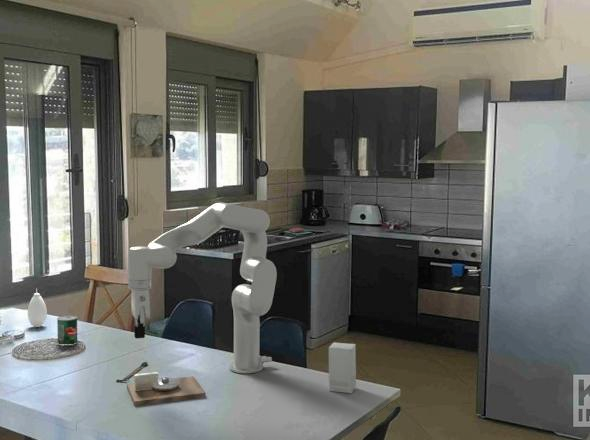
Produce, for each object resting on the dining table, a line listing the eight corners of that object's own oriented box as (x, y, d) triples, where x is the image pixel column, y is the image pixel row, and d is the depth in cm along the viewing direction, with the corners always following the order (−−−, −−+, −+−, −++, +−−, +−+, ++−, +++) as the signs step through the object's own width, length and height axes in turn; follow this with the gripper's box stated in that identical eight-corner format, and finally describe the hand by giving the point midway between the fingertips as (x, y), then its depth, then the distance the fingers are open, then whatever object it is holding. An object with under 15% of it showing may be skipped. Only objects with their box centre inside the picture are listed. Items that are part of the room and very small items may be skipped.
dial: (175, 380, 235) (175, 366, 234) (181, 389, 227) (181, 374, 226) (132, 385, 229) (132, 370, 229) (137, 394, 221) (136, 379, 221)
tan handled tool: (132, 387, 237) (132, 383, 237) (115, 383, 238) (115, 380, 238) (159, 367, 257) (159, 364, 257) (143, 364, 258) (143, 361, 258)
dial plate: (193, 380, 241) (193, 375, 241) (205, 396, 225) (205, 392, 225) (126, 388, 232) (126, 383, 232) (134, 405, 217) (134, 400, 216)
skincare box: (356, 388, 235) (357, 343, 234) (351, 394, 229) (352, 349, 228) (332, 384, 238) (333, 341, 236) (327, 391, 232) (328, 346, 230)
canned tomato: (74, 346, 279) (73, 320, 278) (54, 346, 279) (54, 319, 278) (80, 341, 287) (79, 315, 286) (61, 340, 287) (61, 315, 286)
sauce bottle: (24, 328, 304) (23, 289, 302) (34, 324, 312) (33, 285, 310) (41, 329, 303) (40, 290, 301) (50, 325, 311) (49, 286, 309)
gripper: (155, 287, 222) (154, 342, 224) (147, 279, 236) (147, 331, 238) (131, 288, 219) (131, 344, 221) (125, 280, 233) (125, 332, 235)
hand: (139, 337), depth 230 cm, fingers closed
